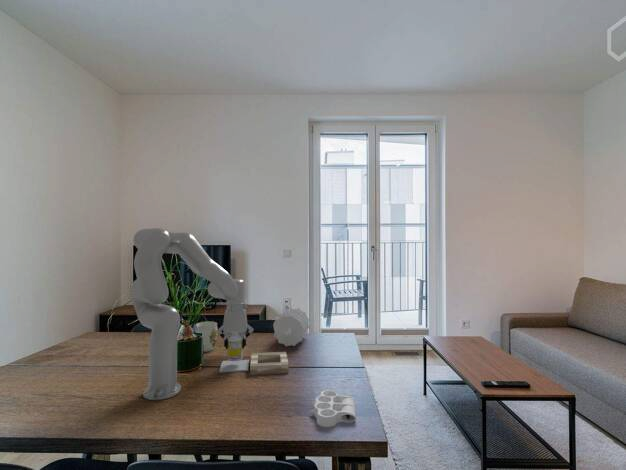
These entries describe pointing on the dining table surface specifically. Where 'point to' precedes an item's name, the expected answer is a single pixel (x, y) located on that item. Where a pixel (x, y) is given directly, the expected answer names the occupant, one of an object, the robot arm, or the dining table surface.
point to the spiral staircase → (291, 327)
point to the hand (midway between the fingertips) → (235, 347)
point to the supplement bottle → (235, 347)
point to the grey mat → (234, 366)
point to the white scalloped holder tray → (333, 408)
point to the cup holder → (263, 367)
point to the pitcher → (208, 334)
